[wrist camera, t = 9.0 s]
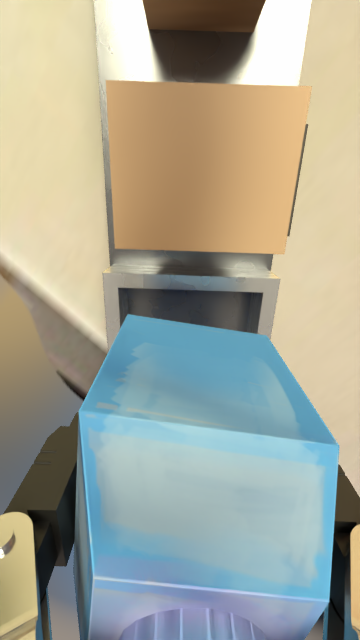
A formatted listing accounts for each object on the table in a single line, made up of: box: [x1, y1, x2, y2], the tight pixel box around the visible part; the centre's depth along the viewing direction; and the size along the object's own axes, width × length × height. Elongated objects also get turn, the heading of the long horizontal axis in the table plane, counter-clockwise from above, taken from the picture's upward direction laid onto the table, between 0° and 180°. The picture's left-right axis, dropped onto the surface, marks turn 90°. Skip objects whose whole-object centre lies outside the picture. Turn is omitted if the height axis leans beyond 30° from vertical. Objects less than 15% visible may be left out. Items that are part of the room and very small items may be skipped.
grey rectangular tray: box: [94, 0, 311, 352], centre depth 15 cm, size 10×27×4 cm, turn 178°
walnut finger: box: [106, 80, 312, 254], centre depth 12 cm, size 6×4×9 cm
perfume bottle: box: [73, 314, 339, 640], centre depth 8 cm, size 6×6×12 cm
